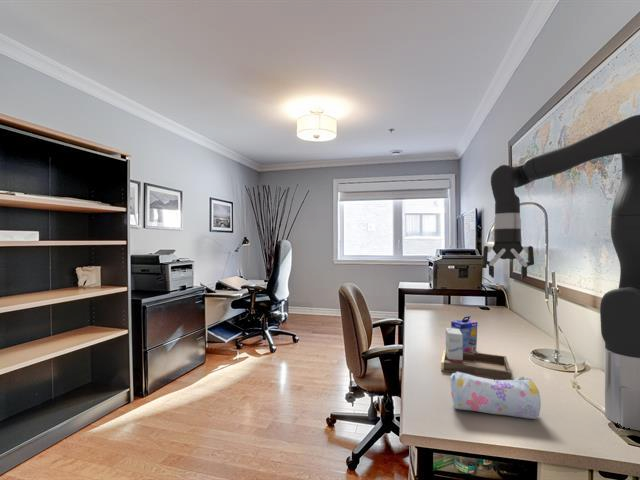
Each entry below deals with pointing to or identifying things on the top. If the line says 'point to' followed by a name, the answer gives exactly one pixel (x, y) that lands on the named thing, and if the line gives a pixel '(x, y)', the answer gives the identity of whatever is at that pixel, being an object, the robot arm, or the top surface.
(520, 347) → the top surface
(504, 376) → the wooden tray
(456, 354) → the ink box
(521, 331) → the top surface
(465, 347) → the ink cartridge box
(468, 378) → the pencil case
